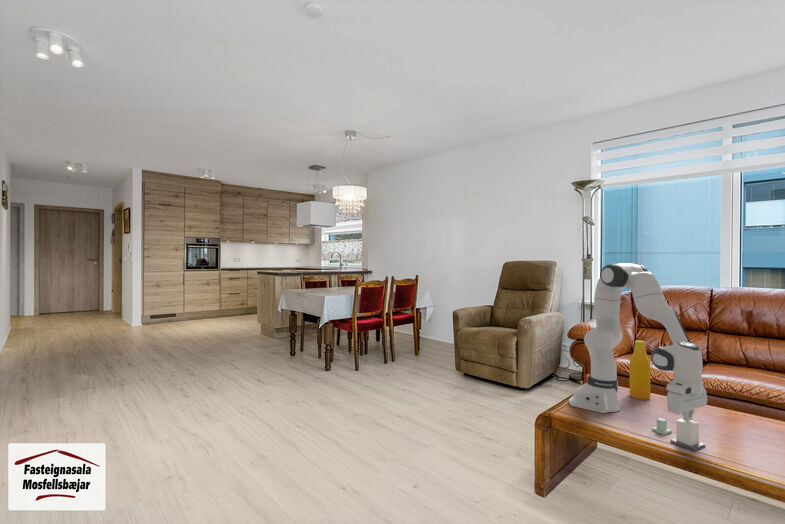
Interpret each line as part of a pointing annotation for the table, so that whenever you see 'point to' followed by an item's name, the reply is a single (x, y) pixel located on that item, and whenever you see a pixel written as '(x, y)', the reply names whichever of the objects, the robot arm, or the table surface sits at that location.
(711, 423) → the table surface
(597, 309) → the robot arm
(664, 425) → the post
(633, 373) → the beer bottle
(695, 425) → the white rectangular block
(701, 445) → the post
